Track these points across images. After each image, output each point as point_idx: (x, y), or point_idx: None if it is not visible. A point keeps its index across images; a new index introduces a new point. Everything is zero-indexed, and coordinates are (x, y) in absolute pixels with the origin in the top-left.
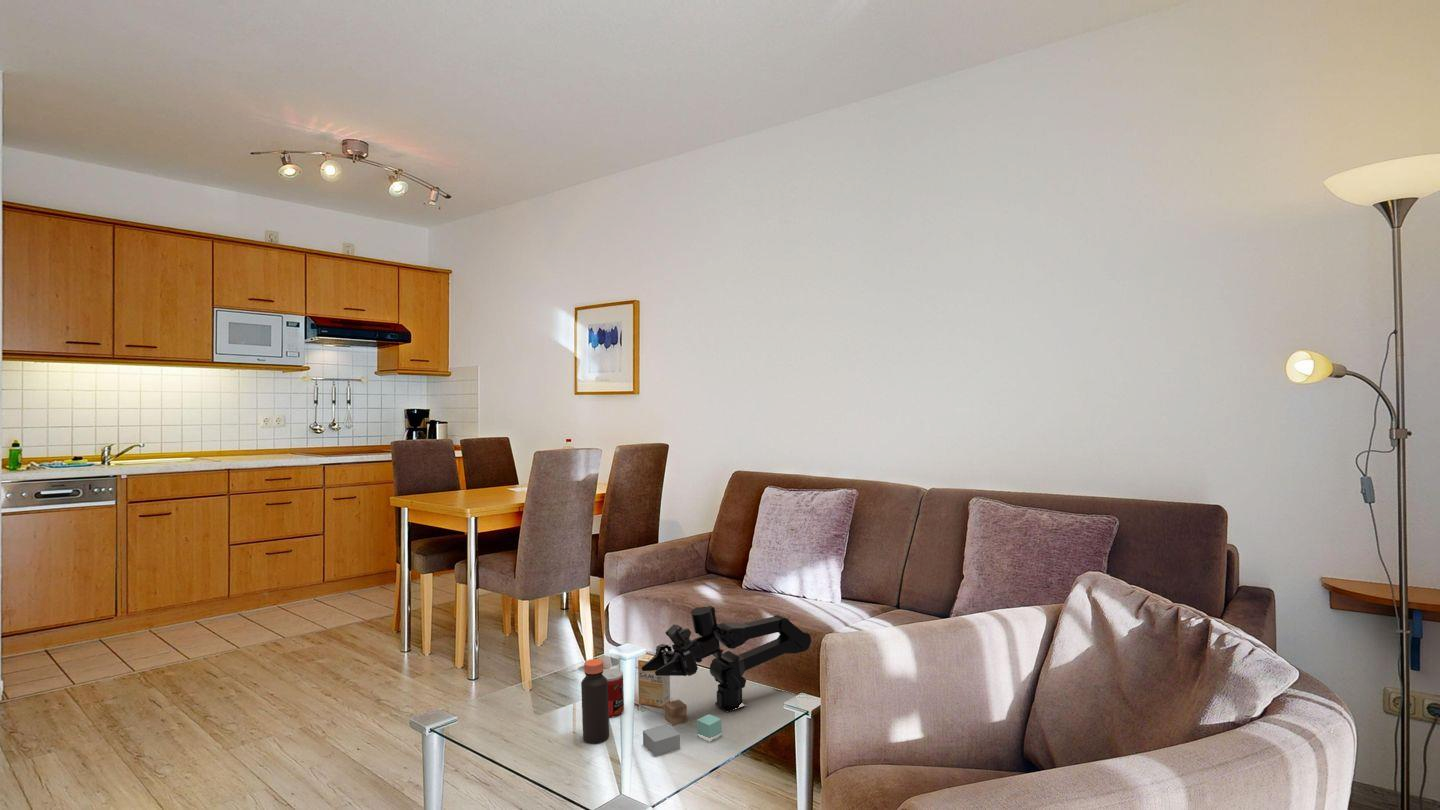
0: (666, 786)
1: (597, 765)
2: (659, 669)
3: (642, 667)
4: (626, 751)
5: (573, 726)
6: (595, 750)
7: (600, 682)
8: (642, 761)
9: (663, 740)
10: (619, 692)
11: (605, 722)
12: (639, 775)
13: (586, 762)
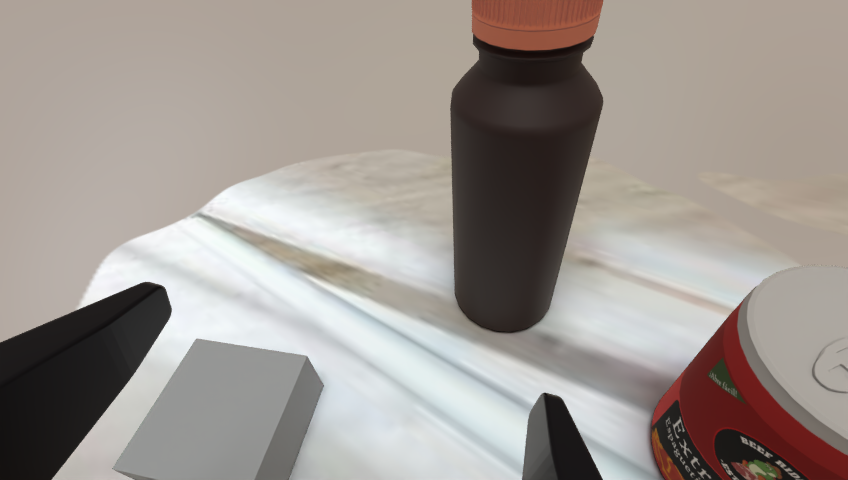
0: (92, 298)
1: (348, 229)
2: (89, 306)
3: (542, 397)
4: (340, 318)
5: (638, 277)
6: (425, 257)
7: (460, 87)
8: (245, 321)
9: (173, 379)
10: (712, 429)
11: (457, 260)
12: (203, 276)
13: (385, 218)
